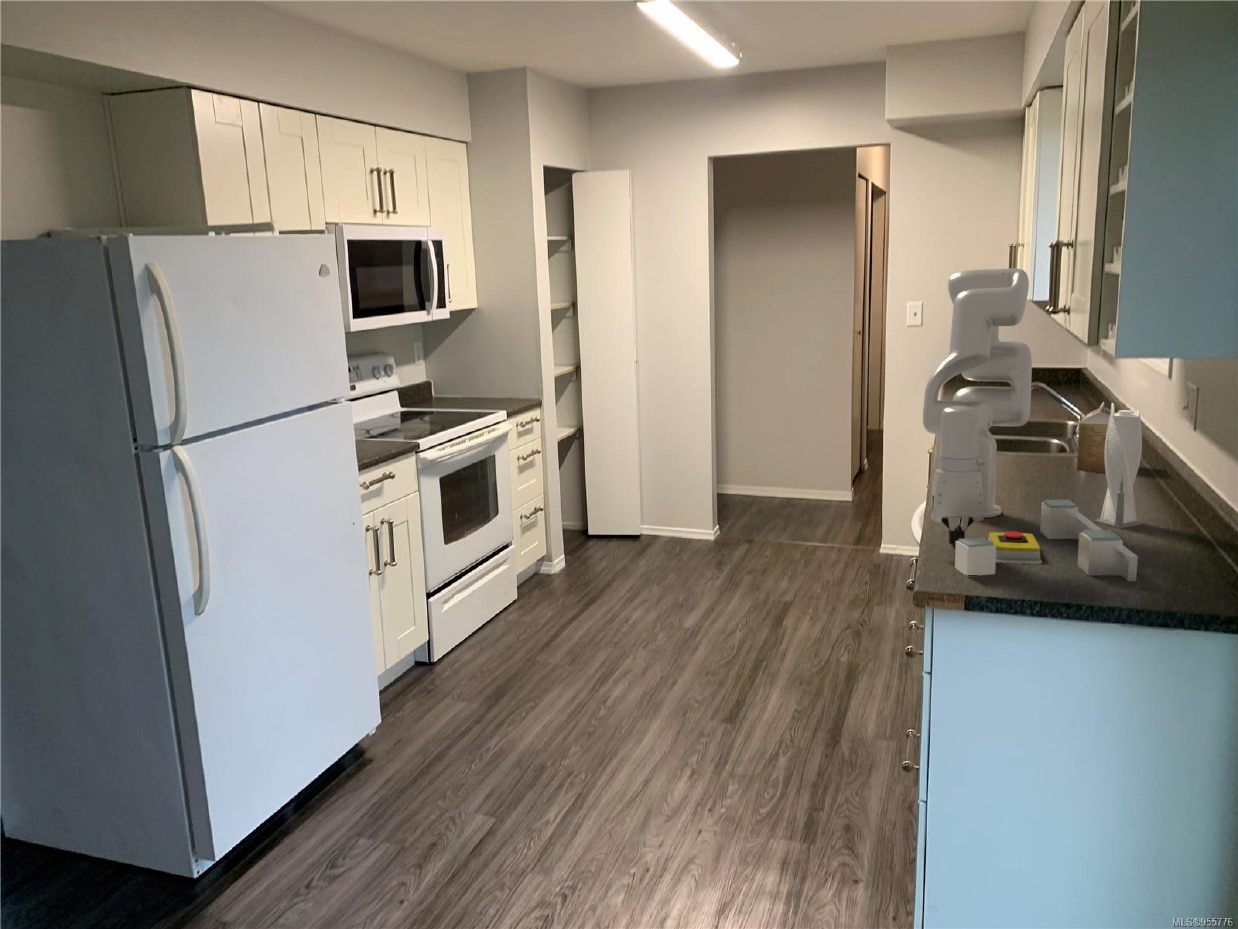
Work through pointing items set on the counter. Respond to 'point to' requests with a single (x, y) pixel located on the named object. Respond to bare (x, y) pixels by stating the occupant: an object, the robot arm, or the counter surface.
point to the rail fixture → (1088, 540)
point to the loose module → (975, 556)
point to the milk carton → (1093, 440)
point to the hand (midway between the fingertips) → (956, 546)
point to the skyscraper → (1121, 468)
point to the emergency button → (1015, 547)
